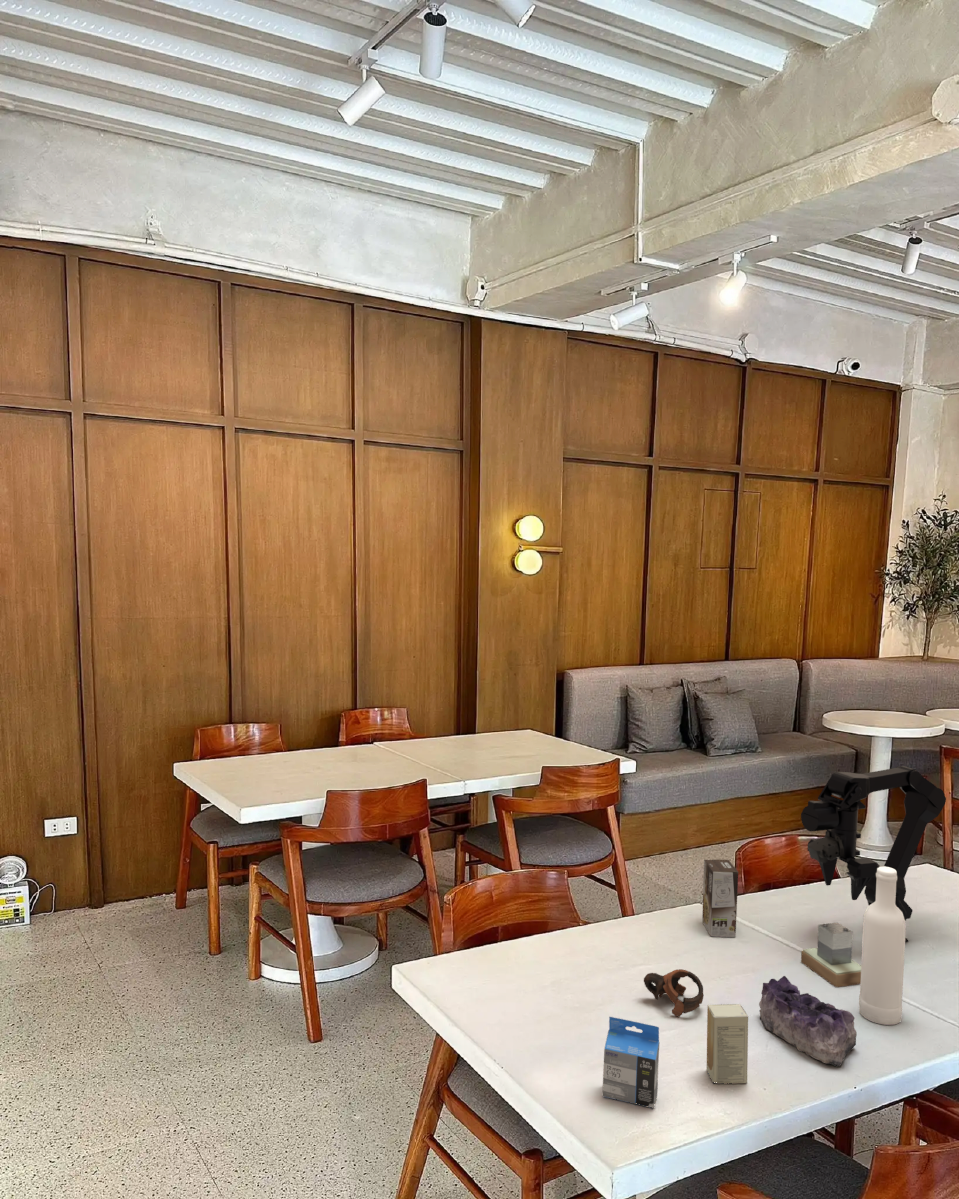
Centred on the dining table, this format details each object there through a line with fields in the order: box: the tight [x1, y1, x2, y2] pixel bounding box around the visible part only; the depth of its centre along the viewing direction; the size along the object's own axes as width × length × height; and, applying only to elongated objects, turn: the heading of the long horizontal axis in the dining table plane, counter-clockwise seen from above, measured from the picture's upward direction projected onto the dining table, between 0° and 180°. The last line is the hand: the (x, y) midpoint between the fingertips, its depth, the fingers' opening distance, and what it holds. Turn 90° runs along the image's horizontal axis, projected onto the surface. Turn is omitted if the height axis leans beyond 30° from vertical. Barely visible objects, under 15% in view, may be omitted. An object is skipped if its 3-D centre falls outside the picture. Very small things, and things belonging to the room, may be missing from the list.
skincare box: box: [706, 1003, 749, 1085], centre depth 155 cm, size 6×4×12 cm
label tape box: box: [602, 1016, 660, 1109], centre depth 149 cm, size 9×4×12 cm, turn 69°
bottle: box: [858, 865, 907, 1026], centre depth 177 cm, size 8×8×30 cm
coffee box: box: [702, 859, 739, 938], centre depth 217 cm, size 9×6×16 cm
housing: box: [816, 922, 854, 965], centre depth 196 cm, size 5×5×7 cm
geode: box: [758, 975, 857, 1067], centre depth 169 cm, size 20×12×10 cm, turn 34°
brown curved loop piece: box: [643, 969, 704, 1017], centre depth 180 cm, size 12×10×8 cm
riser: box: [800, 947, 861, 988], centre depth 196 cm, size 8×12×3 cm, turn 16°
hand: (840, 892), depth 209 cm, fingers open, 9 cm apart
